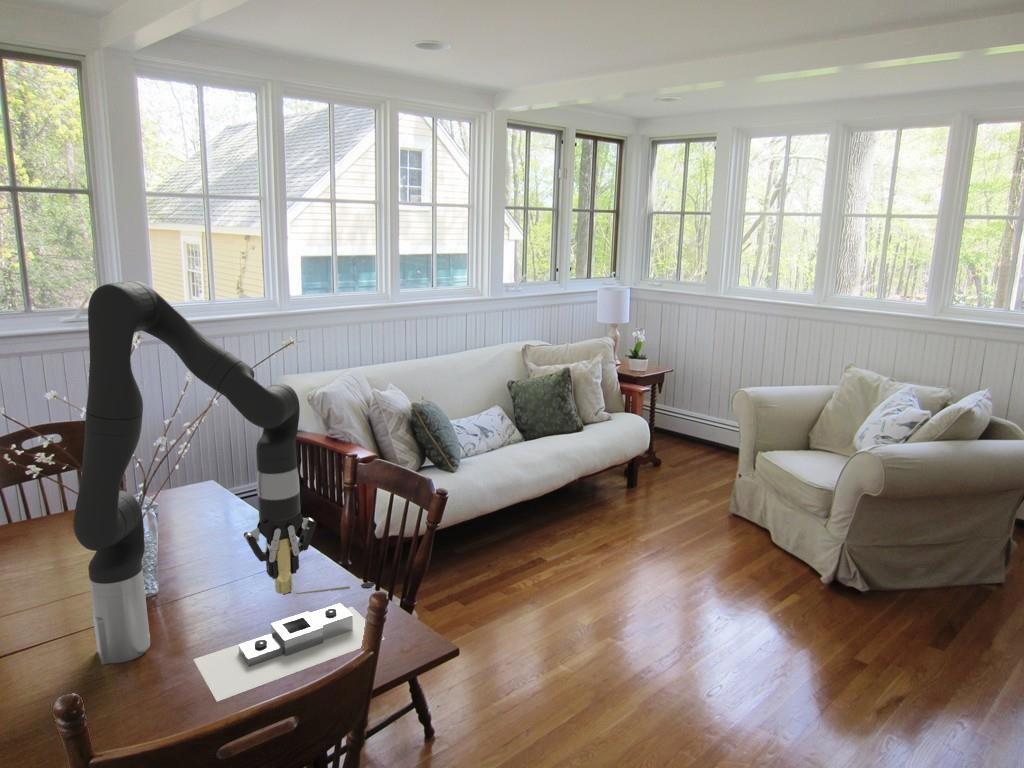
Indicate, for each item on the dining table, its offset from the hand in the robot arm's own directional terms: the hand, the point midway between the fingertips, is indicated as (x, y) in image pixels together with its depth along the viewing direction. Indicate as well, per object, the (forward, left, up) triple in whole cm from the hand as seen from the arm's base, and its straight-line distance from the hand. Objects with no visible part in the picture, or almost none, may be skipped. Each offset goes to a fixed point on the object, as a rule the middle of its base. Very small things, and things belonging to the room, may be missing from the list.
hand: (283, 574), depth 140 cm
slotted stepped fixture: (+4, +5, -19) cm, 20 cm away
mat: (+2, +3, -19) cm, 19 cm away
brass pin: (0, 0, -3) cm, 3 cm away
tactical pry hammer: (+17, +20, -20) cm, 33 cm away
